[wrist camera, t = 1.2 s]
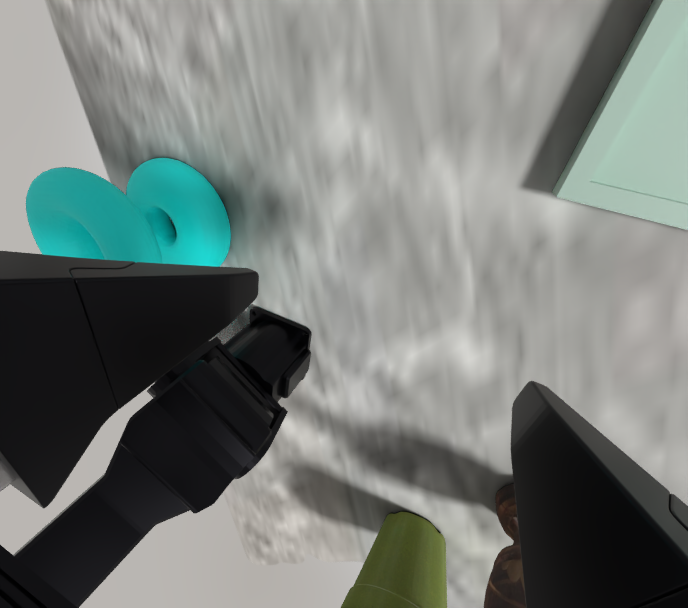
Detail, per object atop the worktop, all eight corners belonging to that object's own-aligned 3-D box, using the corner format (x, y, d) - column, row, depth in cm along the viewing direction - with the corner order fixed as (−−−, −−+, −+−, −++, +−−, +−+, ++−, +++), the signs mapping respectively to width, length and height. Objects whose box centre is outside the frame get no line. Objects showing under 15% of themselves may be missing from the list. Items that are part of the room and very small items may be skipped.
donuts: (-13, 171, 20) (87, 169, 16) (134, 158, 28) (222, 154, 24) (63, 309, 24) (154, 331, 21) (170, 264, 32) (248, 274, 29)
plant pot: (448, 501, 33) (431, 644, 24) (478, 570, 36) (474, 717, 27) (352, 490, 39) (310, 600, 30) (386, 550, 42) (358, 664, 33)
